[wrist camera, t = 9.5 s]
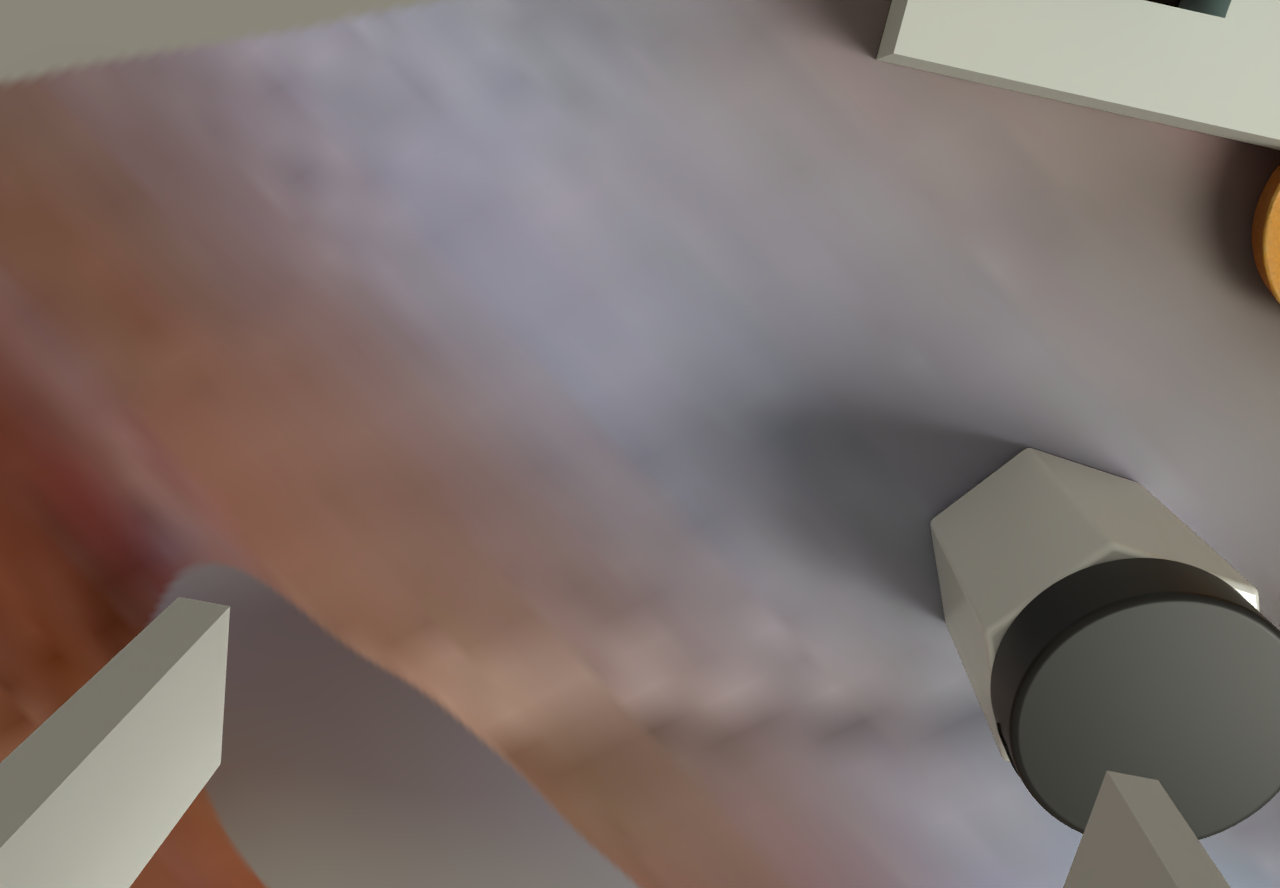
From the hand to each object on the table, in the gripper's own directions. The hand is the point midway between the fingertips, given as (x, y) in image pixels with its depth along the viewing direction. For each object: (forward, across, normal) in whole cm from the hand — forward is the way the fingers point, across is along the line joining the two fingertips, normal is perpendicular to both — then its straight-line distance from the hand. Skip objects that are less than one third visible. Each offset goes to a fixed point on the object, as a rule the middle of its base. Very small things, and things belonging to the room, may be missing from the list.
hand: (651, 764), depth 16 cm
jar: (+25, +15, -5) cm, 29 cm away
